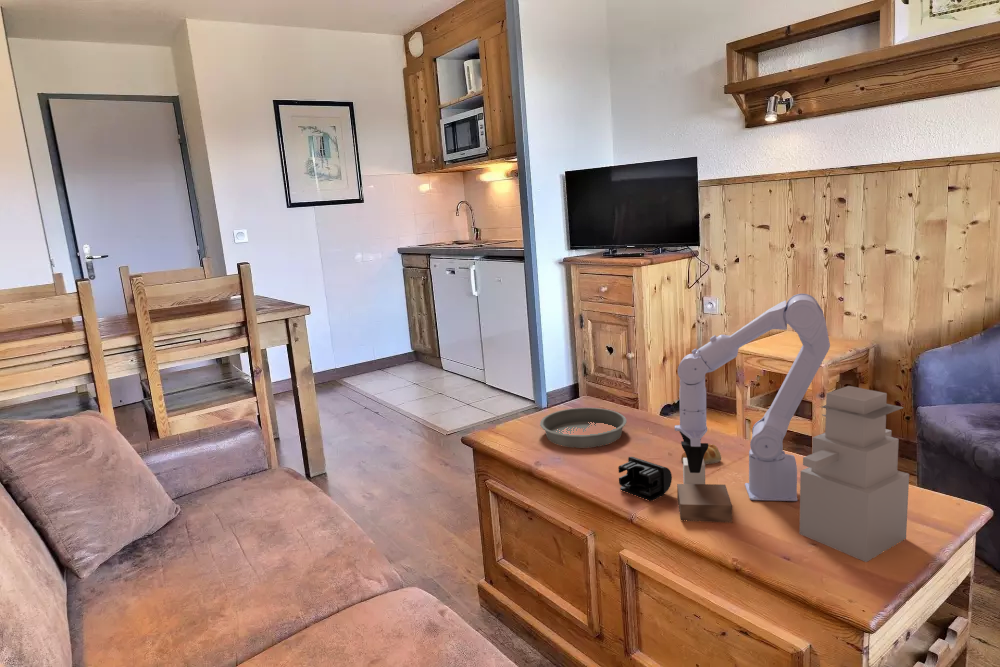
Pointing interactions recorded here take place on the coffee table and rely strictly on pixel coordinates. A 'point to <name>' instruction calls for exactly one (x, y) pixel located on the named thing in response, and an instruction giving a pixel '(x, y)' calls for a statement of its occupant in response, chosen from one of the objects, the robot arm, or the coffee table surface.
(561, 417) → the cake pan
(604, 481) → the coffee table surface
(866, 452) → the three tier block tower
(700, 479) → the white block
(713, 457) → the pastry
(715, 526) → the coffee table surface
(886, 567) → the coffee table surface
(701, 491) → the walnut base
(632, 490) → the end cap
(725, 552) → the coffee table surface
